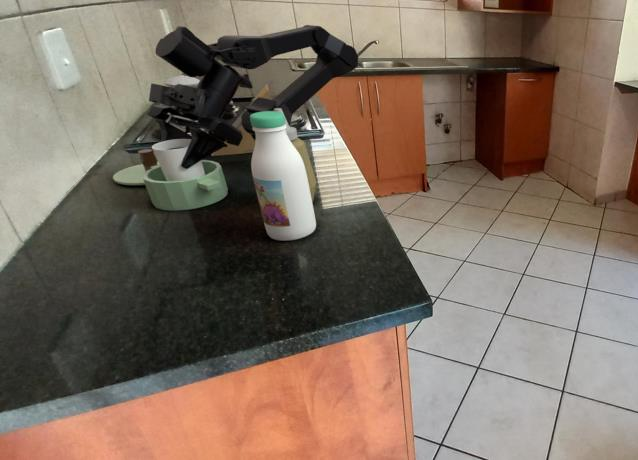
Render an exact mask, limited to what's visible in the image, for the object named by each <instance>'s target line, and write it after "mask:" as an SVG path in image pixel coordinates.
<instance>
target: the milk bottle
mask: <svg viewBox="0 0 638 460" xmlns="http://www.w3.org/2000/svg"><path fill="white" fill-rule="evenodd" d="M250 121H251V125H252V127H253V128H252V129H253V130H254V131H255V134H256V141H255V148H254V152H252V155H251V160H250V167H251V168H250V169H251V175H252V180H253V184H254V188H255V193H256V196H257V201H258V204H259V208H260V212H261V216H262V220H263V224H264V228H265V231H266V234H267V236H269V238H270V239H273V240H275V241H281V242H283V241H284V242H285V241H296V240H299V239H302V238H306V237H307V236H309V235H311V234H313V233H314V232H315V230H316V228H317V220H316V216H315V210H314V205H313V204H314V203H313V201H312V199H311V193H310V188H309V183H308V178H307V174H306V170H305V166H304V163H303V160H302V158H301V156H300V154H299V153H298V151H297V150H296V148H295V147H294V146H293V144H292V143H291V141H290V140H289V138H288V136H287V134H286V130H285V128H286V127H287V126H286V124H285V123H286V122H285V117H284V114H283V113H281V112H276V111H264V112H257V113H254V114H251V115H250Z"/></svg>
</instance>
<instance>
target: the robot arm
mask: <svg viewBox="0 0 638 460" xmlns="http://www.w3.org/2000/svg"><path fill="white" fill-rule="evenodd" d="M307 48H311V50H312V51H313V53H315V54H316V59H315V63H314V64H312V66H310V68H307V70H305V71H304V72H303V73H301V75H300V76H299V77H297V78H296V79H295V80H294V81H293V82H292V83H290V84H289V85H288V86H287V87H285V88H284V89H283V90H282V91H280V93H278V94H277V95H276V96H274V98H272V99H271V98H270V99H266V98H261V97H258V98H257V99H255V98H254V99H255V100H254V99H253V100H254V102H253V103H252V104H251V105H250V104H248V106H247V105H246V106H244V107H243V108H244V111H245V109H246V111H245V112H244V111H243V112H244V113H243V112H242V113H243V114H242V113H241V114H242V116H241V118H242V126H243V128H244V130H245V131H246V132H247V133H249V134H251V136H252V137H253V139H254V140H256V134H255V131H254V130H253V129H252V128H253V127H252V125H251V121H250V115H251V114H254V113H257V112H264V111H274V109H276V108H281V109H282V111H283V113H284V116H285V118H286V120H287V122H288V125H289V127H291V123H292V118H293V115H294V114H295V113H296V112H297V111H298V110H300V109H301V108H302V107H303V106H304V105H305V104H306V103H307V102H308V101H309V100H310V99H312V98H313V97H314V96H315V95H316V94H317V93H319V92H320V91H321V90H322V89H323V88H324V87H325V86H326V85H327V84H329V82H331V81H332V80H333V79H335V78H338V77H341V76H342V77H343V76H345V75H347V74H349V73H351V72H352V71H354V70H356V68H357V67H358V66H359V56H358V52H357V50H356V49H355V48H354V47H353V46H352V45H349V44H347V43H346V42H344V41H343V40H342V39H340V38H338V37H336V36H334V35H333V34H331V33H330V32H328V30H326V29H325V28H323V26H320V25H313V24H305V25H303V26H301V27H295V28H292V29H286V30H282V31H277V32H271V33H267V34H263V35H223V36H219V38H218V39H217V42H215V43H208V44H206V43H205V42H204V41H203V40H201V39H200V38H199V37H197V36H196V35H195V34H194V33H193V32H192V31H191V30H190V29H189V28H187V26H180V25H178V26H176V28H175V30H173V31H171V32H169V33H168V34H166V35H165V36H163V38H162V37H161V38H160V39H159V41H158V42H157V44H156V46H155V55H156V56H157V57H159V58H161V60H163V61H165V62H166V63H167V64H170V66H172V67H174V68H175V69H176V70H178V71H179V70H180V72H181V73H183V74H184V75H185V76H189V77H194V78H197V77H199V78H200V79H199V80H200V81H199V83H198V84H197V86H196V85H195V87H194V86H186V85H182V84H177V85H176V86H175V87H173V86H166V85H162V84H157V83H152V82H151V83H150V88H149V96H148V102H150V103H155V104H156V103H157V104H156V105H152V106H151V107H150V109H149V110H148V112H147V116H149V117H151V118H152V119H154V121H155V123H157V124H158V126H159V127H160V130H161V139H160V142H163V141H167V140H174V139H191V142H190V144H189V147H188V149H187V151H186V153H185V156H184V158H183V161H182V164H181V167H183V168H185V169H188V168H190V167H191V166H193V165H195V164H196V163H198V162H199V161H201V160H205V159H206V158H207V157H209V156H212V153H214V152H216V151H218V150H220V149H221V148H223V147H227V146H228V145H227V144H225V141H226V142H227V143H228V144H231V145H235V146H239V144H240V143H241V141H242V139H243V136H242V132H241V131H240V130H239V129H237V128H236V127H234V126H232V125H233V124H231V123H229V122H228V121H226V120H224V119H223V118H222V117H223V116H224V114H225V112H227V113H231V112H232V111H233V107H232V106H231V105H230V104H231V101H232V100H233V99H234V97H235V95H236V93H237V91H238V90H239V88H243V89H244V88H245V89H250V90H251V89H253V87H254V86H253V84H252V82H251V79H250V76H249V75H250V74H248V73H243V72H242V73H240V72H238V70H236V69H235V68H239V69H246V70H255V69H257V68H260V67H261V66H264V65H265V64H267V63H268V62H269V61H270V60H271V59H272V58H274V57H276V56H279V55H285V54H287V53H292V52H295V51H299V50H303V49H307ZM218 60H219V61H221V62H222V63H223V64H222V63H221V62H219V61H218ZM233 67H234V68H233ZM172 106H174V107H172ZM181 113H182V114H181ZM189 132H191V135H189V134H187V133H189ZM297 135H298V136H299V133H298V132H297Z"/></svg>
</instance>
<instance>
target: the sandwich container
mask: <svg viewBox="0 0 638 460" xmlns="http://www.w3.org/2000/svg"><path fill="white" fill-rule="evenodd" d="M258 97H261V98H266V99H271V95H270V90H269V85H268V84H267V83H266V84H265V85H264V86H263V88H262V89H261V90H260V91H259V93H258V94H257V95H256V96H255V97H254V98H253V100H252V101H251V102H250V103H249V105H251V104H252V103H253V102H254V100H255V99H257V98H258ZM245 111H246V109H244V110H243V112H242V113H241V114H239V116H238V117H237V119H236V120H235V121H234V122H233V124H231V125H232V126H234V127H236V128H237V129H239V130H240V131H241V132H242V136H243V139H242V141H241V143H240V144H239V146H235V145H231V144H228V143H227V142H226V141H225V144H227V145H228V146H227V147H223V148H221V149H220V150H218V151H216V152H214V153H212V154H211V157H216V156H217V157H218V156H229V155H240V154H249V153H251V154H253V152H254V148H255V141H256V140H254V139H253V137H252V136H251V134H249V133H247V132H246V131H245V130H244V128H243V126H242V118H241V116H242V114H243V113H244V112H245Z"/></svg>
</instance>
